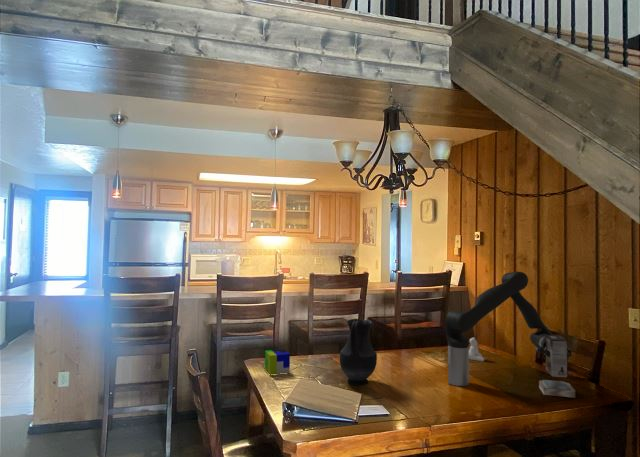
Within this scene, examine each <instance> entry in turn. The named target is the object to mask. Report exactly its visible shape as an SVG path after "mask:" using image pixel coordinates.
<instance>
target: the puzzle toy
mask: <svg viewBox="0 0 640 457" xmlns="http://www.w3.org/2000/svg"><path fill="white" fill-rule="evenodd" d="M290 355H291V354H290V353H289V352H288V351H287V350H286V349H284V348H281V349H280V348H279V349H272V350H270V349H269V350H264V370H265V369H266V371H267V372H268V373H269V374H270V375H271V374H280V373H289V372H291V371H290V369H291V365H290V364H291V356H290ZM266 371H265V372H266ZM267 372H266V373H267ZM268 373H267V374H268Z"/></svg>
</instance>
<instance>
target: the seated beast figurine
mask: <svg viewBox="0 0 640 457" xmlns="http://www.w3.org/2000/svg"><path fill="white" fill-rule="evenodd" d="M468 342H469V345H470V346H469V360H472V361H475V362H476V361H477V362H481V363H482V362H484V361H485V358H484V357H483V355H482V354H481V353H480V352H479V348H478V345H479V344H478V340H477V339H476V337H471V338H469V340H468Z"/></svg>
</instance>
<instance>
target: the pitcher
mask: <svg viewBox="0 0 640 457" xmlns="http://www.w3.org/2000/svg"><path fill="white" fill-rule="evenodd" d="M346 323H347V325H348V327H349V336H348V339H347V341H346V343H345V345H344V347H343V348H341V350H339V351H340V352H339V365H340V368H341V370H342V372H343V374H345V375H346V377H347V383H348V384H349V385H352V386H365V385H368V384H369V380H368V378H369V377H371V375H372V374H373V373H374V372H375V370H376V366H377V361H378V355H377V354H378V353H377V352H376V351H375V349H374V348H373V346H372V343H371V341H370V329H371V327H372V325H373V322H372V321H371V320H370V319H365V320H364V319H359V318H352V319H347V320H346Z"/></svg>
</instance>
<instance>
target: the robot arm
mask: <svg viewBox="0 0 640 457" xmlns="http://www.w3.org/2000/svg"><path fill="white" fill-rule="evenodd" d="M528 284H529V278H528V275H527V274H526V273H525V272H523V271H511V272H506V273H504V274H503V275H502V277H501V283H499V284H498V285H495V286H492V287H490V288H488V289H486V290H484V291H483V292H481V293H480V294H479V295H478V296H477V297H476V299H475V303H474V306H473V307H472V308H470V309H469V310H467V311H464V312H463V311H460V310H450V311H449V312H447V314H446V318H445V337H446V341H447V380H448V381H447V383H448V385H452V386H455V387H456V386H457V387H466V386H469V385H470V365H469V364H470V359H469V349H470V346H469V345H470V342H469V340H468V339H467V337H465V336H464V335H463V333H467V332H469V331H470V330H472V329H473V328H474V327H475V326H476V325H477V324H478V323H479V322H480V321H481V320H482V319H483V318H485V317H486V316H487V315H488V314H490V313H491V312H492V311H494V310H495V309H497V308H498V307H499V306H501V305H502V304H503V303H504V302H506V301H507V300H508V299H509V298H511V300H512V301H513V302H514V304H515V305H516V307H517V308H518V310H519V312H520V313H521V315H522V317H523V319H524V321H525V323H526V325H527V327H528V328H529V329H531V330H535V329H540V330H537V331H534V332H532V333H531V334H530V336H529V339H530V341H531V343H532V344H533V346H535V351H536V352H537V353H538V354H539V355H545V357H546V356H548V357H550V352H549V351H548V350H547V348H546V335H554V334H553V332H552V331H551V330H550V329H549V328H548V327H547V326H546V325H545V323H544V322H543V320H542V318H541V317H540V314H539V313H538V311H537V309H536V308H535V307H534V305H533V304H532V303H531V302H529V301H528V300H527V299H526V298H525V297H524V296H523V295H522V293H521V292H520V291H522V290H524V289H525V288H526V287H527V286H528ZM572 352H573V351H572V349H571V348H570V347H569V346H567V359H569V358H570V357H572V356H573V355H572Z"/></svg>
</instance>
